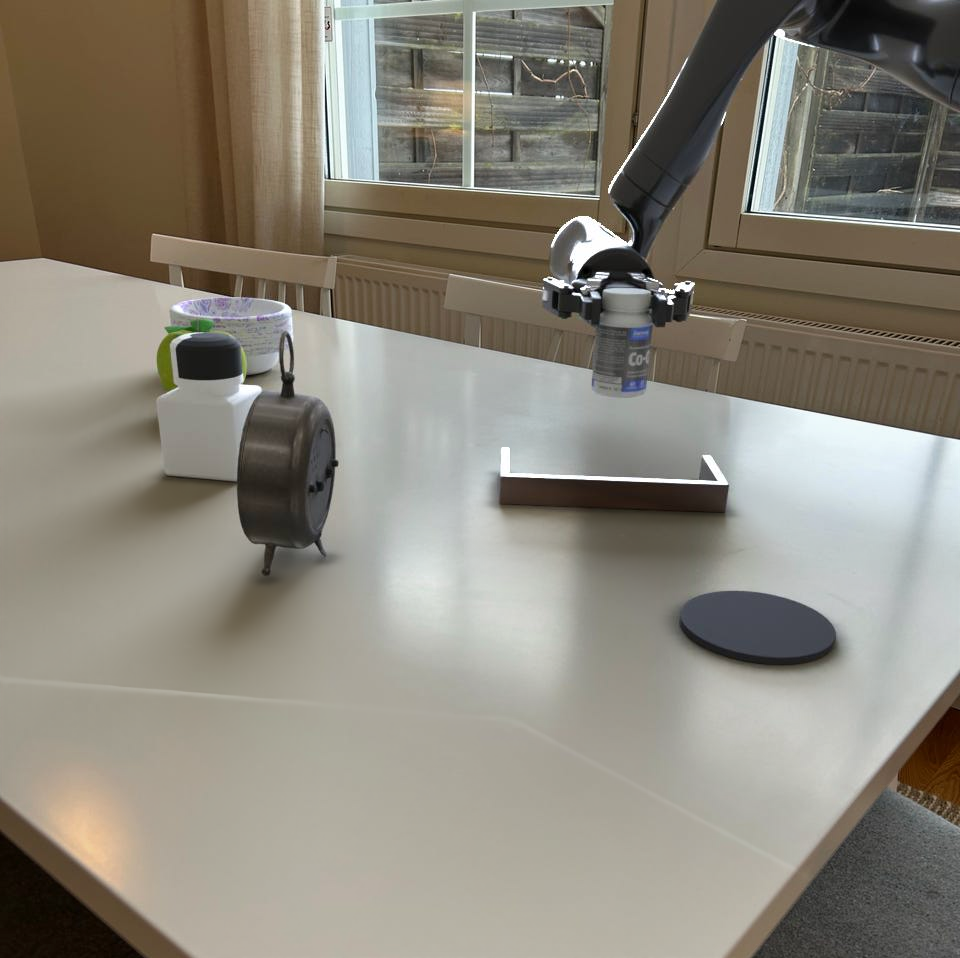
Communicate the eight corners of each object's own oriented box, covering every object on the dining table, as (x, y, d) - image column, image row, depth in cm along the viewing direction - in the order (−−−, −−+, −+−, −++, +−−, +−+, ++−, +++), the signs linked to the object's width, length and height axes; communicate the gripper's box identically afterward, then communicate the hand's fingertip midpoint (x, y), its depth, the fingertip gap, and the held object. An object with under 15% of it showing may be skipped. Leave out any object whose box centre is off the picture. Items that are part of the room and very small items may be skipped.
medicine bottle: (267, 460, 94) (258, 331, 89) (238, 482, 88) (226, 345, 82) (197, 454, 95) (184, 326, 90) (163, 476, 89) (147, 339, 83)
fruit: (146, 418, 106) (134, 322, 101) (191, 399, 114) (181, 309, 109) (223, 427, 104) (214, 329, 99) (263, 406, 112) (257, 315, 107)
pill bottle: (634, 401, 82) (643, 296, 78) (582, 394, 84) (589, 291, 80) (653, 390, 86) (664, 289, 82) (604, 383, 88) (611, 284, 84)
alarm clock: (282, 527, 79) (269, 316, 71) (349, 531, 78) (342, 320, 71) (238, 581, 69) (218, 344, 61) (314, 587, 69) (303, 349, 61)
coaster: (730, 584, 71) (731, 578, 71) (861, 631, 65) (863, 624, 65) (649, 626, 65) (650, 619, 65) (786, 681, 59) (788, 674, 58)
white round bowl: (237, 387, 120) (232, 320, 116) (150, 370, 127) (142, 305, 123) (318, 367, 131) (316, 305, 128) (235, 352, 138) (230, 292, 135)
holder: (499, 473, 93) (500, 447, 92) (707, 481, 93) (710, 455, 92) (499, 503, 85) (500, 476, 84) (725, 512, 85) (729, 485, 84)
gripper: (537, 240, 93) (543, 261, 78) (689, 244, 93) (724, 266, 78) (533, 322, 96) (538, 358, 81) (679, 326, 96) (712, 363, 81)
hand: (629, 313), depth 80 cm, fingers closed on pill bottle, 4 cm apart
